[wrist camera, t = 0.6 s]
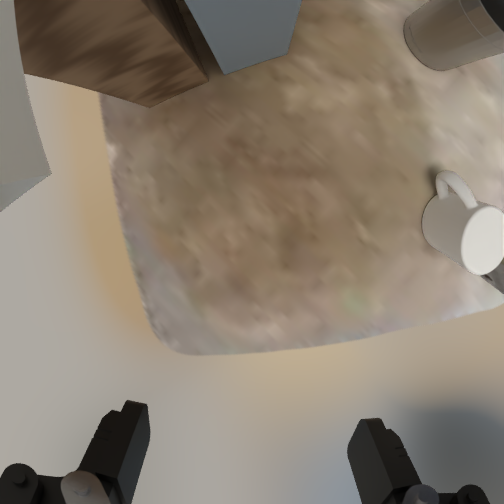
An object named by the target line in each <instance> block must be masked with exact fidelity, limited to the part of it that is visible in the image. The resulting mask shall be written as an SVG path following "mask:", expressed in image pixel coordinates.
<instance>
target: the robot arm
mask: <svg viewBox="0 0 504 504" xmlns="http://www.w3.org/2000/svg"><path fill="white" fill-rule="evenodd" d="M404 35H405V39H406V42H407V44H408V46H409V48H410V50H411V51H412V53H413V54H414V55H415V56H416V57H417V58H418V59H419V60H420V61H421V62H422V63H423V64H425V65H426V66H428V67H430V68H432V69H435V70H439V71H445V70H449V69H452V68H455V67H458V66H461V65H465V64H468V63H471V62H474V61H477V60H480V59H484V58H487V57H490V56H494V55H497V54H501V53H504V0H430V1H428V2H427V3H426V4H425V5H423V6H422V7H421V8H419V9H418V10H417V11H416V12H414V13H413V14H412V15H411V16H409V17H408V19H407V20H406V22H405V25H404ZM149 441H150V424H149V415H148V406H147V404H144V403H139V402H135V401H130V400H127V401H126V402H125V404H124V406H123V408H122V410H121V412H119V411H114V410H111V411H110V412H109V413H108V414H106V415H105V416H104V417H103V418H102V420H101V422H100V424H99V426H98V429H97V430H96V432H95V434H94V438H92V440H91V442H90V444H89V446H88V448H87V451H86V453H85V455H84V457H83V459H82V461H81V463H80V466H79V467H78V469H77V470H76V471H74V472H70V473H69V474H67V475H66V476H64V477H52V476H43V475H37V474H36V473H35V471H34V470H33V469H32V468H31V467H29V466H27V465H25V464H21V463H16V464H12V465H10V466H8V467H7V468H6V469H5V470H4V472H3V474H2V475H1V478H0V504H131V503H132V499H133V496H134V492H135V489H136V485H137V482H138V478H139V475H140V472H141V468H142V465H143V461H144V458H145V455H146V451H147V448H148V445H149ZM347 454H348V459H349V462H350V465H351V469H352V472H353V475H354V478H355V482H356V485H357V488H358V491H359V495H360V498H361V502H362V504H490V503H489V501H488V499H487V497H486V495H485V493H484V492H483V490H482V489H481V488H480V487H478V486H476V485H465V486H463V487H462V488H461V489H460V490H459V491H458V492H457V493H437V492H436V490H435V489H433V488H432V487H430V486H428V485H425V484H422V483H421V481H420V479H419V476H418V475H417V472H416V470H415V468H414V466H413V464H412V462H411V460H410V458H409V456H408V455H407V452H406V449H405V448H404V446H403V443H402V441H401V439H400V437H399V436H398V435H397V434H396V433H395V432H393V431H392V430H391V429H386V428H385V426H384V424H383V422H382V420H381V419H380V418H371V419H361V420H360V421H359V423H358V425H357V428H356V429H355V432H354V434H353V436H352V438H351V440H350V442H349V444H348V450H347Z"/></svg>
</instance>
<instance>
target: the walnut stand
mask: <svg viewBox="0 0 504 504" xmlns="http://www.w3.org/2000/svg"><path fill="white" fill-rule="evenodd" d="M14 9H15V20H16V28H17V36H18V43H19V49H20V55H21V61H22V66H23V71H24V74H29V75H33V76H38V77H42V78H47V79H51V80H55V81H59V82H63V83H67V84H71V85H75V86H79V87H83V88H86V89H90V90H93V91H97V92H100V93H104V94H107V95H110V96H114V97H117V98H120V99H124V100H127V101H130V102H133V103H136V104H139V105H142V106H145V107H148V108H151V107H153V106H155V105H157V104H159V103H161V102H163V101H165V100H167V99H169V98H171V97H174V96H176V95H178V94H180V93H182V92H185V91H187V90H189V89H192V88H194V87H196V86H199V85H201V84H203V83H206V82H208V78H207V76H206V73H205V71H204V68H203V66H202V63H201V61H200V59H199V56H198V54H197V51H196V49H195V46H194V44H193V42H192V39H191V37H190V34H189V32H188V30H187V27H186V25H185V23H184V20H183V18H182V15H181V13H180V11H179V8H178V6H177V4H176V1H175V0H14Z"/></svg>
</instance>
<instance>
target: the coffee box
mask: <svg viewBox="0 0 504 504" xmlns="http://www.w3.org/2000/svg"><path fill="white" fill-rule="evenodd" d="M480 276H481V277H482V278H483V279H485V280H486V281H487V282H489V283H490V284H491V285H492V286H494V287H495V288H496V289H498V290H499V291H500V292H502V293H503V294H504V257H503V259H502V261H501V262H500V264H499V265H498V266H497V267H496V268H495V269H494V270H492V271H491V272H489V273H487V274H484V275H480Z"/></svg>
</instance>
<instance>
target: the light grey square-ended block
mask: <svg viewBox="0 0 504 504" xmlns="http://www.w3.org/2000/svg"><path fill="white" fill-rule="evenodd" d="M51 174H52V173H51V170H50V167H49V164H48V161H47V158H46V155H45V152H44V149H43V146H42V143H41V139H40V136H39V132H38V129H37V126H36V122H35V118H34V115H33V111H32V107H31V103H30V99H29V95H28V90H27V86H26V82H25V76H24V71H23V66H22V61H21V55H20V49H19V43H18V36H17V28H16V20H15V9H14V0H0V212H1V211H2V210H4V209H5V208H6V207H7V206H9V205H10V204H11V203H12V202H14V201H15V200H16V199H18V198H19V197H20V196H22V195H23V194H24V193H25V192H27V191H28V190H30V189H31V188H32V187H34V186H35V185H36V184H38V183H39V182H41V181H42V180H43V179H45V178H46V177H48V176H49V175H51Z"/></svg>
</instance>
